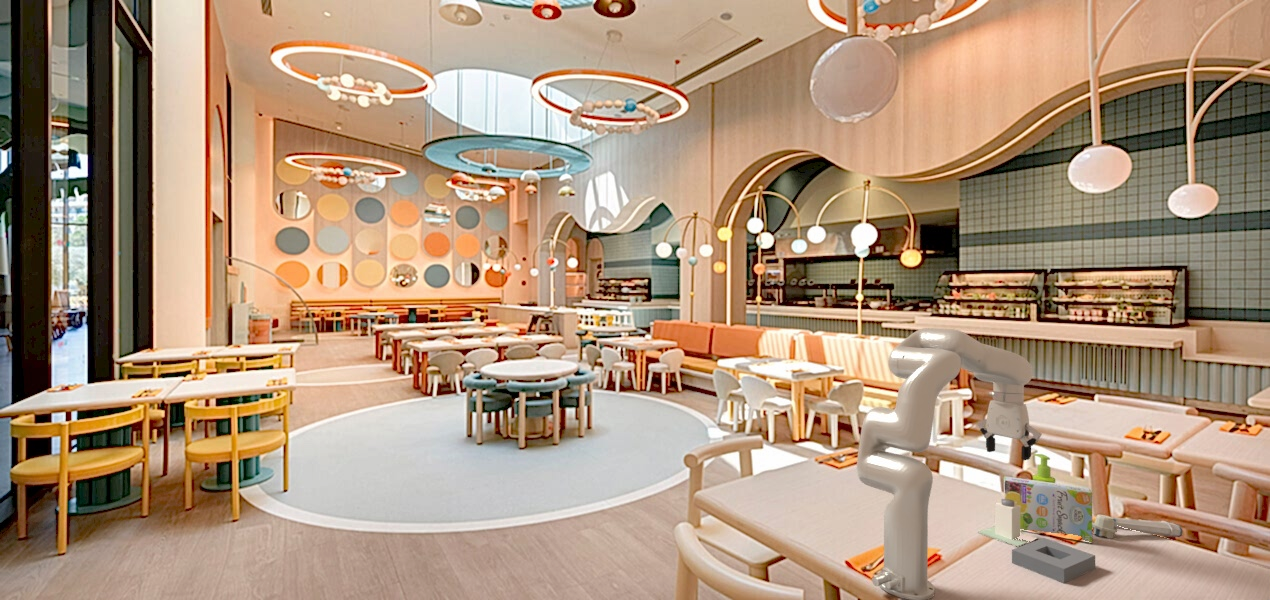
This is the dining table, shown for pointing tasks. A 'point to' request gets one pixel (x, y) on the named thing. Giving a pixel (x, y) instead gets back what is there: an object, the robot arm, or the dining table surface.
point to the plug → (1007, 519)
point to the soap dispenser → (1043, 470)
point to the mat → (1001, 537)
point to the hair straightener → (1134, 526)
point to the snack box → (1051, 506)
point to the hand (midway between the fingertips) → (1007, 455)
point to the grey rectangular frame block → (1053, 560)
